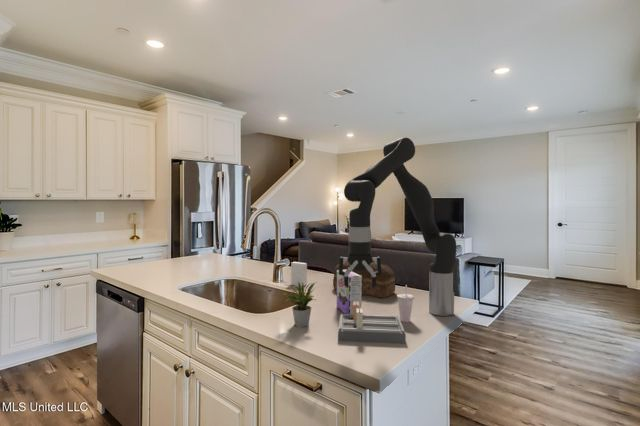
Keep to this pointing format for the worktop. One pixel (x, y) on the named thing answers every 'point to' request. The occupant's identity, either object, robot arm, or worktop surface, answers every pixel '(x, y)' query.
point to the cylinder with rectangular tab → (298, 273)
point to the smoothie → (405, 306)
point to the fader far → (355, 305)
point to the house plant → (301, 304)
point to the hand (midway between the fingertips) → (360, 287)
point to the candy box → (349, 292)
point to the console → (372, 329)
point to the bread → (383, 281)
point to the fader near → (359, 318)
